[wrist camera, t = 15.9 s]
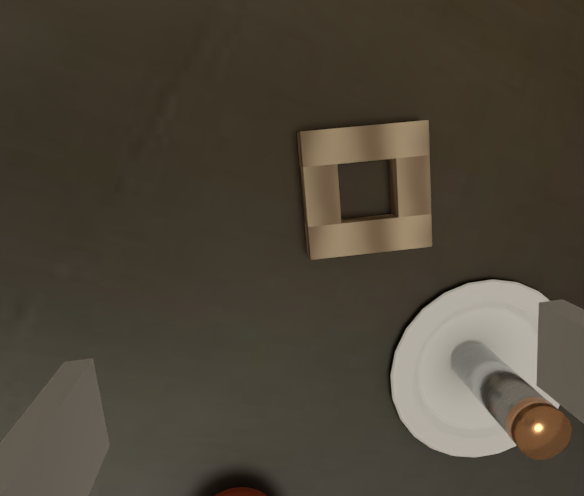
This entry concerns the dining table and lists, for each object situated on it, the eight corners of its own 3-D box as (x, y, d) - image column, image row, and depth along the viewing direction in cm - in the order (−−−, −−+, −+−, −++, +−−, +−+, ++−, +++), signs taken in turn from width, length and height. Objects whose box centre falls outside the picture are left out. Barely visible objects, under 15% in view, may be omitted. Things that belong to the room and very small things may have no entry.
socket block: (307, 254, 49) (310, 259, 46) (297, 132, 46) (300, 131, 44) (422, 241, 49) (432, 246, 47) (418, 121, 47) (428, 120, 44)
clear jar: (452, 383, 52) (516, 462, 39) (452, 344, 51) (519, 413, 38) (492, 379, 52) (569, 456, 40) (494, 340, 51) (573, 407, 38)
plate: (600, 361, 55) (611, 368, 53) (466, 482, 57) (473, 492, 55) (490, 236, 51) (498, 239, 49) (347, 370, 52) (351, 378, 51)
